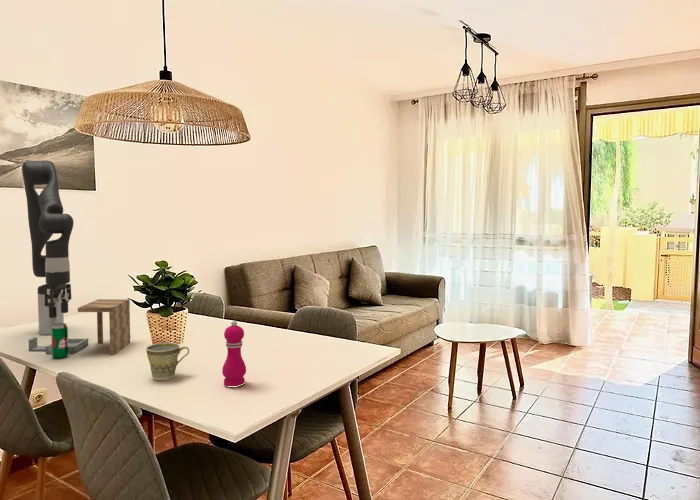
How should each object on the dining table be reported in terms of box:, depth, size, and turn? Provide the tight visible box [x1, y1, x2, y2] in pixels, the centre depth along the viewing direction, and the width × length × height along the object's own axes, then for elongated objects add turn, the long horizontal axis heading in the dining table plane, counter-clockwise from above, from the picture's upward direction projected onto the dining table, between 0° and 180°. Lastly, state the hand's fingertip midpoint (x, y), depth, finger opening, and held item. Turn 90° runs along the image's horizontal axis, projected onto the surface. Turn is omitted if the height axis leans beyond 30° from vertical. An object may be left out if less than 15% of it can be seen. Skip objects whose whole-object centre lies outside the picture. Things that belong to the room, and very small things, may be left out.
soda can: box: [51, 322, 69, 360], centre depth 181 cm, size 5×5×12 cm
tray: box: [28, 336, 89, 354], centre depth 191 cm, size 12×18×4 cm, turn 95°
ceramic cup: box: [145, 342, 190, 382], centre depth 162 cm, size 13×10×10 cm
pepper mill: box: [221, 320, 247, 386], centre depth 155 cm, size 7×7×20 cm
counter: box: [77, 298, 131, 356], centre depth 193 cm, size 18×12×18 cm, turn 5°
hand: (58, 315), depth 180 cm, fingers open, 8 cm apart
